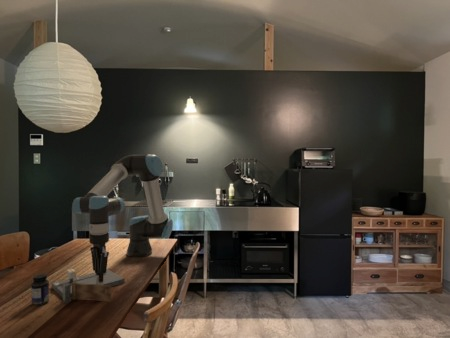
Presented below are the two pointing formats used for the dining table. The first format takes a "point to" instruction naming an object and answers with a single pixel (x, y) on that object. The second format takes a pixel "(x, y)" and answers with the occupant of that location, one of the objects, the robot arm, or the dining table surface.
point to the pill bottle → (40, 290)
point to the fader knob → (71, 274)
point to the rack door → (91, 292)
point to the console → (89, 281)
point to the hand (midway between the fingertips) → (99, 288)
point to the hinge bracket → (66, 293)
